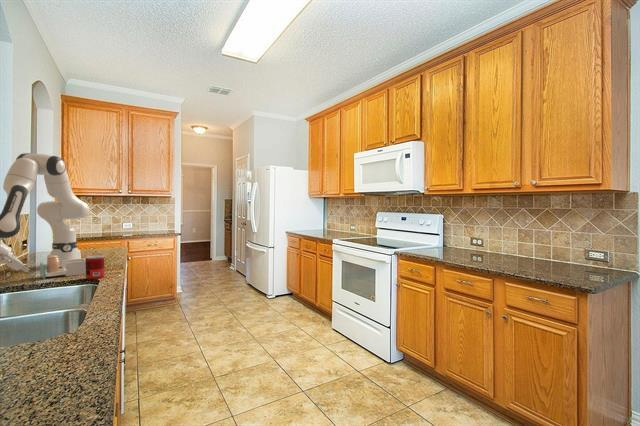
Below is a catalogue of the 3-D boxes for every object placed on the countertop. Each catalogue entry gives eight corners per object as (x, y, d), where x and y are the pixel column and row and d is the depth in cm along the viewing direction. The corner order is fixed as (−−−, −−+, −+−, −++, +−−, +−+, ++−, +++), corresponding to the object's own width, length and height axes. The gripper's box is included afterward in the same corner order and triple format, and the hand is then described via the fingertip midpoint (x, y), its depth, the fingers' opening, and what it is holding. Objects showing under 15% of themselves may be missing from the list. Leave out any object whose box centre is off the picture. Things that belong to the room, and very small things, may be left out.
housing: (62, 273, 178) (61, 260, 177) (84, 270, 185) (84, 258, 185) (66, 276, 170) (66, 263, 170) (89, 273, 178) (89, 260, 177)
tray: (40, 275, 170) (39, 262, 170) (64, 272, 177) (63, 260, 177) (43, 278, 164) (42, 264, 164) (67, 275, 171) (67, 262, 171)
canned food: (108, 276, 172) (107, 255, 171) (96, 279, 164) (95, 257, 163) (94, 275, 172) (94, 254, 172) (82, 279, 164) (81, 257, 164)
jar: (45, 273, 170) (46, 255, 170) (57, 272, 174) (57, 255, 174) (48, 274, 167) (48, 256, 167) (59, 273, 171) (60, 256, 171)
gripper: (8, 250, 150) (37, 268, 158) (4, 246, 164) (30, 263, 171) (-6, 261, 147) (24, 279, 155) (-8, 256, 161) (19, 273, 168)
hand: (28, 271), depth 163 cm, fingers closed
